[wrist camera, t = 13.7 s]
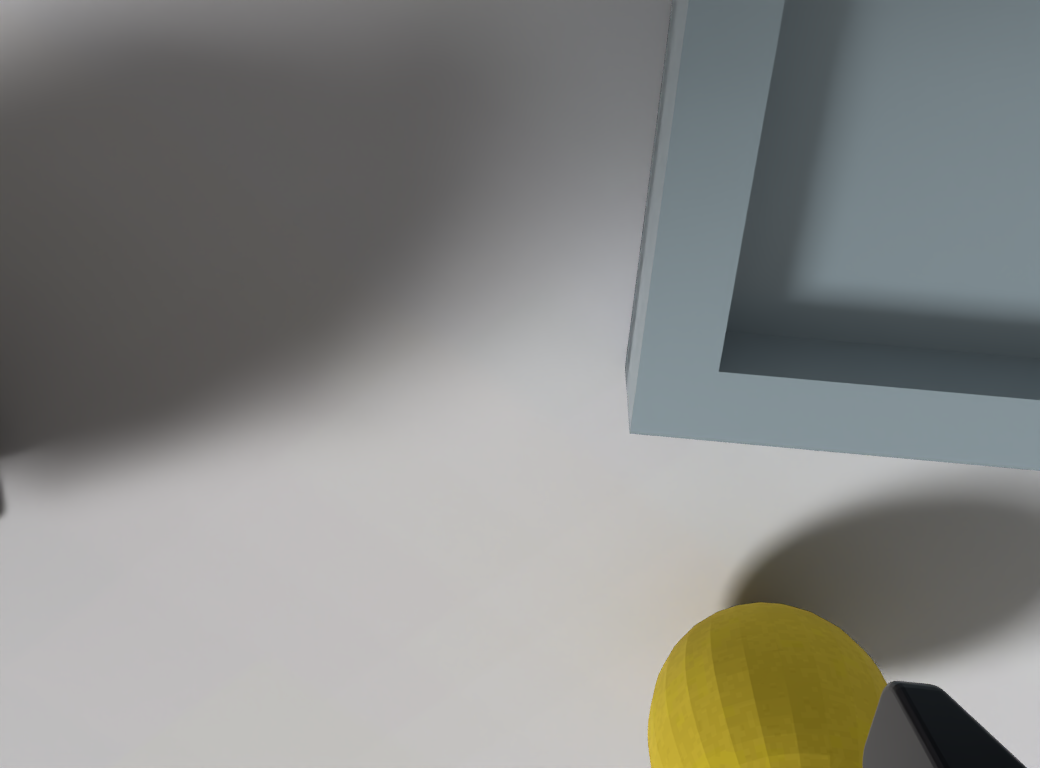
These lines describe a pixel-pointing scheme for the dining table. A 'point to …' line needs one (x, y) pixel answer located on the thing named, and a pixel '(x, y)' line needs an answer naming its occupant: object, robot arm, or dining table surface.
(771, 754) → the lemon
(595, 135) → the dining table surface
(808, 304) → the slate tray
